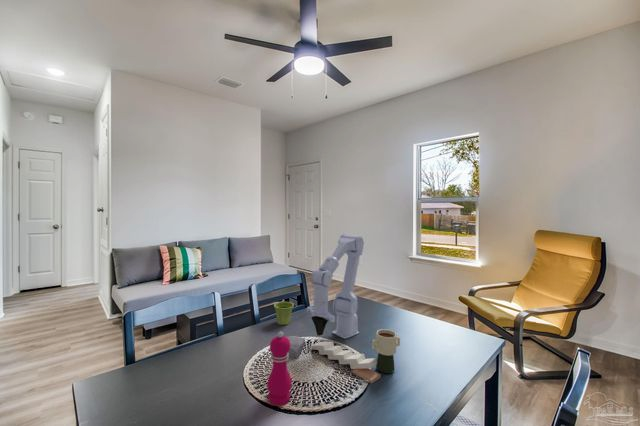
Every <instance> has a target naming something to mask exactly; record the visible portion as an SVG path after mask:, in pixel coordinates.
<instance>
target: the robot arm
mask: <svg viewBox="0 0 640 426" xmlns="http://www.w3.org/2000/svg"><path fill="white" fill-rule="evenodd" d="M337 243H338V245H337V246H336V248H335V249H334V251H333V253H332V254H331V256H327V257H326V258H325V260H324V261H323V263H322V264H321V266H320V267H319V268H318V269H316V270H314V271H313V272H312V274H311V276H310V282H311V284H312V289H313V306H311V305H309V306H307V307H306V313H310V314H311V320H312V322H313V324H314V327H315V333H316V335H317V336H322V335H324V331H325V329H326V325H327V323H328V322H329V323H335V322H336V329H335V330H333V331H332V332H331V333H332V334H334V335H335V336H337V337H340V338H342V339H345V340H346V339H348V338H350V337H353V336H355V335H358V334H360V331H359V330H358V329H359V324H358V323H359V318H358V315H357V312H358V307H359V306H358V298H357V296H356V295H355V293H354V289H355V285H356V284H355V283H356V278H357V272H358V267H359V262H360V256H362V255H363V250H364V247H365V246H364V244H365V242H364V238H363V237H362V235H354V234H353V235H352V234H345V233H343V234H341V235H340V237H339V238H338V242H337ZM345 254H346V255H347V261H346V267H345V271H344V275H343V276H344V277H343V282H342V287H341V290H340V291H339V292H336V294H335V297H334V300H333V302H332V308H333V310H334V311H335V314H336V316H335V315H333V314H332V313H331V312H329V285H330V284H331V283H332V281H333V280H332V279H333V276H334V273H335V271H336V270H337V268H338V267H339V261H340V259H342V257H343V256H344V255H345Z"/></svg>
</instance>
